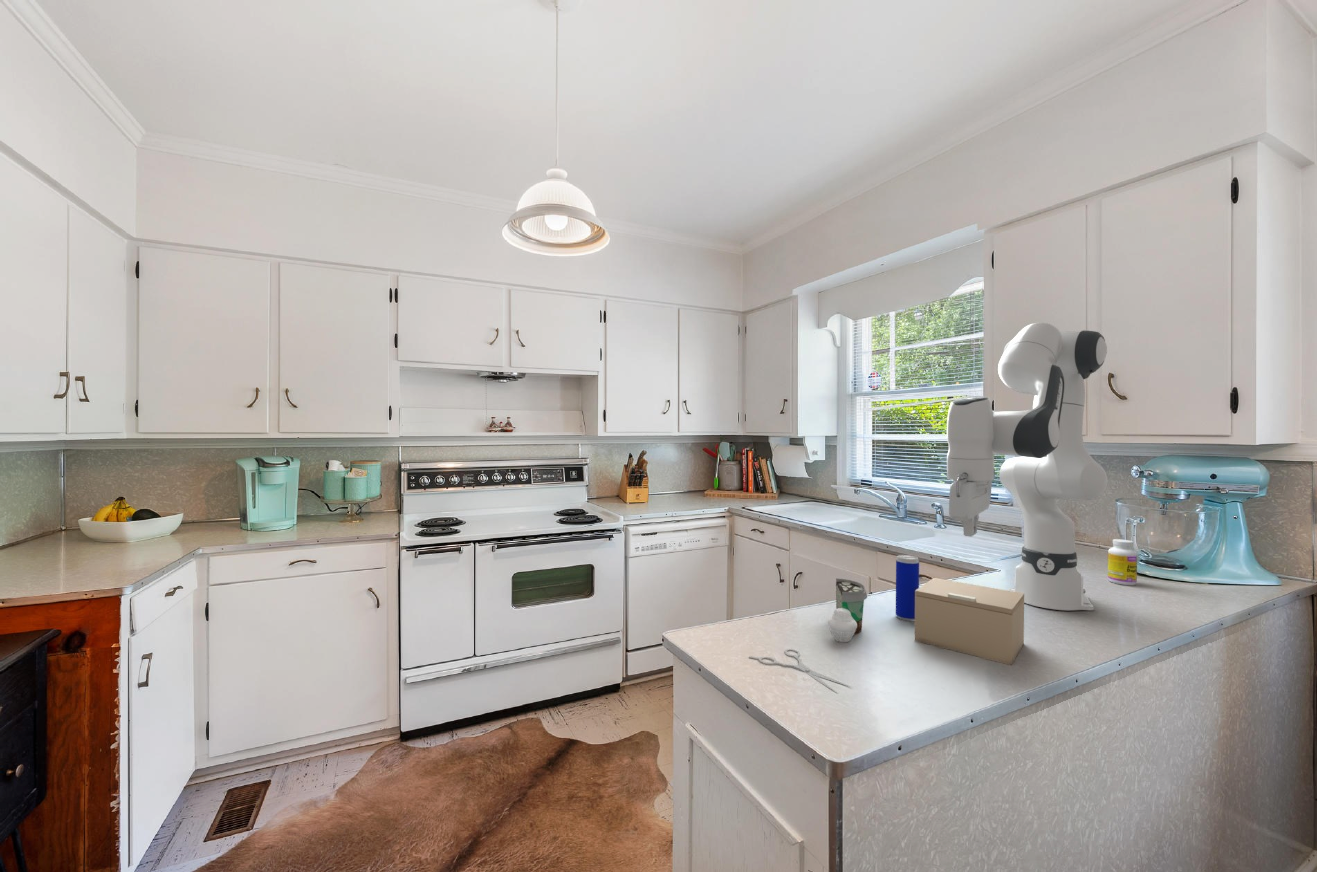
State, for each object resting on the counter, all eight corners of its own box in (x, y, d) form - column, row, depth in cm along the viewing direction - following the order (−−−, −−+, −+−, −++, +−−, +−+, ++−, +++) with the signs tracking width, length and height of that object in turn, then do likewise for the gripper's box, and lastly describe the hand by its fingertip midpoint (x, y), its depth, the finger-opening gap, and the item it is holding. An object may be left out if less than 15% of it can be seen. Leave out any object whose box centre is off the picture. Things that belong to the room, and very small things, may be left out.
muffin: (823, 640, 119) (823, 608, 118) (833, 631, 123) (834, 601, 123) (851, 647, 115) (851, 614, 114) (861, 638, 119) (861, 607, 119)
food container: (871, 639, 119) (871, 594, 119) (842, 637, 120) (842, 592, 120) (862, 620, 131) (862, 579, 131) (835, 618, 132) (835, 577, 132)
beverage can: (918, 615, 134) (918, 555, 134) (919, 622, 129) (919, 560, 129) (895, 613, 136) (896, 553, 136) (895, 619, 131) (896, 558, 131)
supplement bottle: (1128, 587, 159) (1128, 543, 159) (1102, 581, 165) (1103, 539, 165) (1142, 584, 161) (1142, 541, 161) (1116, 578, 168) (1117, 537, 167)
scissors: (786, 645, 115) (866, 681, 98) (786, 648, 115) (866, 685, 98) (748, 656, 109) (826, 697, 92) (748, 660, 109) (826, 701, 92)
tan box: (933, 623, 129) (933, 582, 128) (1023, 644, 116) (1024, 598, 116) (914, 640, 118) (914, 595, 118) (1011, 665, 106) (1012, 614, 106)
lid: (933, 581, 128) (933, 575, 128) (1024, 597, 116) (1024, 590, 116) (914, 595, 118) (915, 587, 118) (1012, 614, 106) (1012, 606, 106)
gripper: (975, 476, 107) (975, 545, 107) (996, 468, 122) (996, 529, 122) (940, 474, 111) (940, 541, 112) (965, 467, 126) (965, 526, 127)
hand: (970, 535), depth 117 cm, fingers closed
